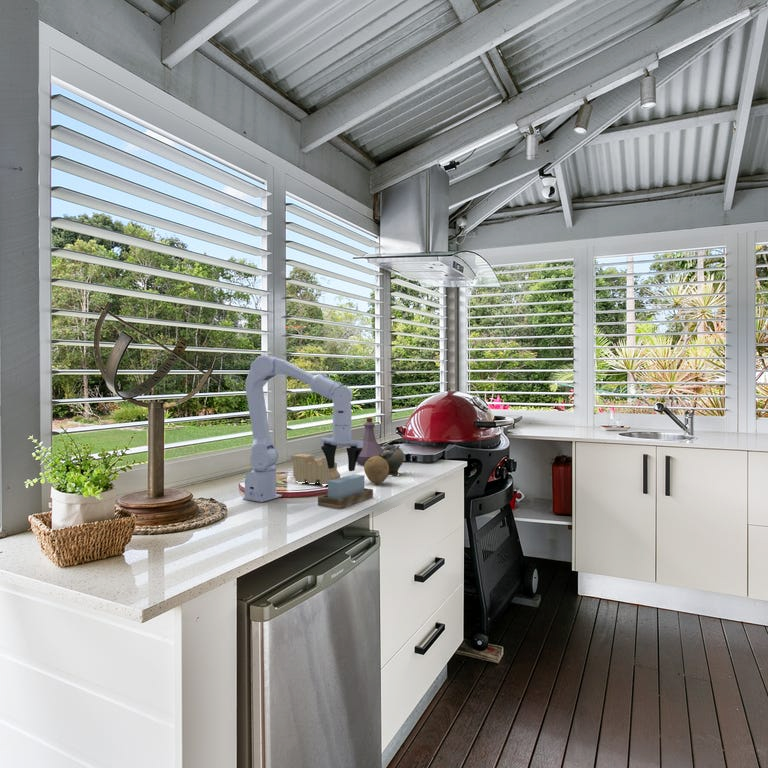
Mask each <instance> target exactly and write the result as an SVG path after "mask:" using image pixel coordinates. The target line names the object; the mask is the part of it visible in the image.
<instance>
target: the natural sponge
mask: <svg viewBox="0 0 768 768" xmlns="http://www.w3.org/2000/svg"><path fill="white" fill-rule="evenodd" d="M363 469H364V473H365V474H364V475H365V476H366V477H367V479H368V480H369V481H370V483H372V484H373V485H379V484H381V483H383V482H384V481H386V479H388V477H389V476H388V473H389V465H388V463H387V461H386V460H385V459H384V458H382V457H380V456H373V457H371V458H369V459H368V460H367V461H366V463H365V465H364V466H363Z"/></svg>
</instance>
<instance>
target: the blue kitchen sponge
mask: <svg viewBox="0 0 768 768" xmlns="http://www.w3.org/2000/svg"><path fill="white" fill-rule="evenodd" d="M365 476H366V474H364V475H363V474H357V473H352V474H350V475H346V476H342V477H340V478H338V479H334V480H331V481H328V486H327V494H328V498H335V499H342V498H345V497H348V496H351V495H354V494H357V493H360V492H363V491H364V488H365V482H366V481H365Z"/></svg>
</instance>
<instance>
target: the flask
mask: <svg viewBox="0 0 768 768" xmlns="http://www.w3.org/2000/svg"><path fill="white" fill-rule="evenodd" d="M363 426H364V434H363V437H362V440H361V441H363V447H362V451H361V453H360V455H359V457H358V459H357V462H356V464H358V465H360V466H362V465H365V463H366V461H367V460H368V459H369V458H371V457H373V456H379V454H380V452H381V451H382V450H383V449H384V448H382V447H381V445H380V444H379V443H378V442H377V439H376V436H375V430H374V429H375V426H376V424H375V423H374V422H373V417H366V422H365V423H363Z"/></svg>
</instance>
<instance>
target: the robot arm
mask: <svg viewBox="0 0 768 768" xmlns="http://www.w3.org/2000/svg"><path fill="white" fill-rule="evenodd" d="M277 375H288V376H290V377H292V378H294V379H295V380H296V379H297V380H299V381H300V382H303V383H305V384H306V385H309V388H310V391H312V392H314V393H315V394H318V395H320V396H321V397H324V398H326V399H328V400H331V401H332V402H333V406H332V407H333V410H332V436H331V437H321V438H320V445H322V446H321V448H320V449H321V450H322V452H323V454H324V457H326V460H327V464H328V468H329V469H331V468H334V464H335V463H336V461H335V460H336V459H335V458H336V451H337V447H338V446H339V447H340V446H341V447H346V453H347V459H348V460H347V462H348V466H347V467H348V472H354V471H355V468H356V464H357V459H358V457H359V455H360V453H361V451H362V447H363V441H362V440H359V439H357V440H356V439H353V438H352V400H353V398H354V393H353V391H352V389H351V388H350V387H348V385H342V382H341V381H335V380H333V379H331V378H329V377H328V375H327V374H325V373H323V374H322V373H318V374H315V375H314V374H312V373H310V372H308V371H306V370H305V369H302V368H301V367H299V366H297V365H295V364H294V363H291V362H290V361H288V360H284V359H283V358H278V357H276V356H274V355H272V356H271V355H265V354H264V355H263V354H262V355H259V356H257V357H256V358H255V359H254V360H253V361H252V362H251V363H250V368H249V372H248V374H247V377H246V379H245V382H244V387H245V394H246V400H247V406H248V413H249V420H250V425H251V432H252V437H253V438H252V439H253V440H252V442H251V443H252V444H251V448H250V449H251V453H250V454H251V455H250V458H249V461H250V464H251V466H252V470H251V471H250V472H248V473H247V474H246V475H245V478H244V496H243V497H242V499H243V500H246V501H254V502H260V503H263V502H268V501H270V500H274V499H277V498H281V497H282V496H283V495H282V494H279V493H277V466H276V463H277V462H278V460H279V451H278V450H277V448H276V447H275V444H274V440H273V439H272V437H271V434H270V427H269V420H268V414H267V407H266V400H265V393H264V386H265V385H266V384H267V383H268V382H269V380H271V379H273V378H275V376H277Z"/></svg>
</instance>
